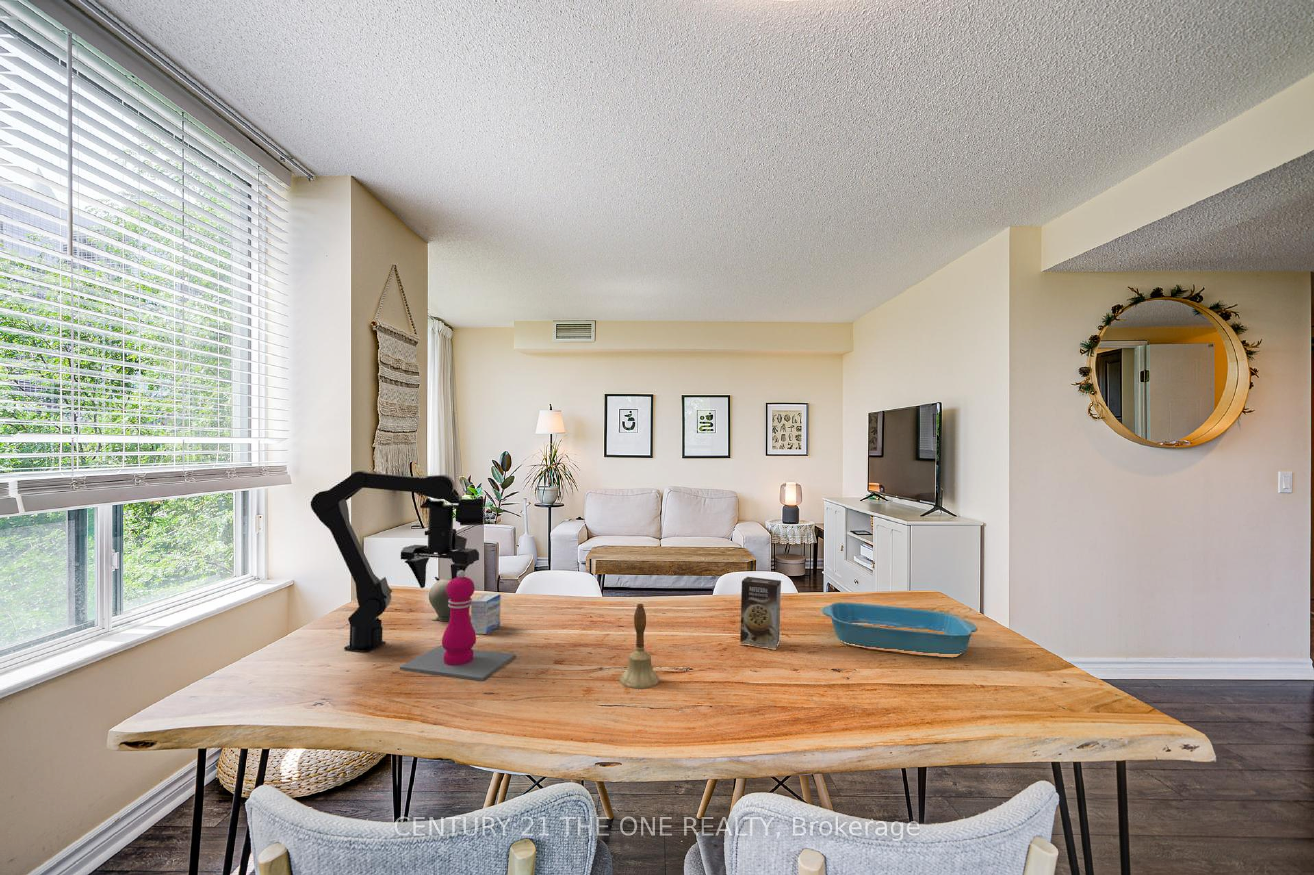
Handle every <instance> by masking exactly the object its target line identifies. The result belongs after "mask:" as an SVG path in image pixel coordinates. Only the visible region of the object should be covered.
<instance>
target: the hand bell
mask: <svg viewBox="0 0 1314 875" xmlns="http://www.w3.org/2000/svg"><path fill="white" fill-rule="evenodd" d="M633 624H634V630H635V634H636V635H635V636H636V640H635V641H636V642H635V646H636V647H635V650H634V651H632V652H630V654H629V657H628V663H627V667H626V669H625V670H624V672H623V673H622V674H621V675H620V677H619V682H620V684H621V685H622V686H625V687H628V688H631V689H648V688H652V687H654V686H656V685H658V684H659V683H660V678H659V675H658V674H657V673H656V672H655V670H654V669H653V664H652V657H651V654H650V653H649V652H647V651H646V650H645V644H644V643H645V638H644V637H645V636H644V635H645V634H644V633H645V630H646V625H647V614H646V610H645V606H644V604H643V603H637V604H636V608H635V611H634V616H633Z"/></svg>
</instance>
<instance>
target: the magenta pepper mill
mask: <svg viewBox="0 0 1314 875" xmlns="http://www.w3.org/2000/svg"><path fill="white" fill-rule="evenodd" d="M451 579H452V578H451ZM475 589H476V588H475V583H474V581H473V580H472V579H471V578H469V577H466V571H465V572H464V571H463V570H460V571H458V572H457V578H454V579H452V580H451V581H450V582H449V583H448V585H447V588H446V593H447V595H448V597H449V598H450V599H449V601H448V602H449V604H448V606H449V607H450V612H451V613H450V620H449V621H448V624H447V626H446V628H445V630H444V632H443V634H442V638H441V639H442V640H441V645H442V646H443V648H444V649H445V650H446V652H445V653H444V663H445V664H448V665H462V664H466V663H469V662H471V661H472V660H473V652H474V651H473V650H472V649H473V647H474V646H475V644H476V641H477V636H476V635H477V634H475V630H474V628H473V626H472V623H471V616H470V610H471V605H472V603H471V601H473V599H472V598H473V597H472V596H473V594H474V593H475V591H476V590H475ZM471 597H472V598H471Z"/></svg>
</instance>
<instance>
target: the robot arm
mask: <svg viewBox="0 0 1314 875" xmlns="http://www.w3.org/2000/svg"><path fill="white" fill-rule="evenodd" d="M455 486H456V485H455V481H454V479H453V478H452V477H451V476H449V475H446V474H437V475H423V476H411V475H401V474H391V473H390V474H389V473H388V474H387V473H378V472H369V471H365V470H358V471H355V472H352V473H351V474H350V475H349V476H348V477H347V478H345V479H343V480H342V481H340V482H339V483H337V484H335V485H334V486H332V487H331V488H330V489H327V490H322V491H319V492H317V493H315V495H313V497H312V498H311V501H310V509H311V510H312V512H313V513H314V514H315V516H316V517H317V519H319V521H320V522H321V523H322V524H323V525H324V526H325V527H326V528H327V529H328V530H329V531H330V533H331V535H332V537H333V539H334V541H335V543H336V546H337V548H338V550H339V552H340V554H341V556H342V558H343V561H344V562H345V564H346V567H347V569H348V571H349V572H350V575H351V577H352V580H353V582H354V585H355V594H356V595H355V596H356V601H357V604H358V607H357V608H356V609H355V610H354V612H352V613H351V614H350V616H349V617H348V623H349V644H348V645H346V646H344V648H343V649H344V650H345V651H352V652H353V651H355V652H362V653H368V652H370V651H372V650H375V649H377V648H379V647H381V646H383V645H385V644H386V643H387V642H386V640H383V629H384V628H383V626H382V624H383V623H382V619H380V618H379V617H380V616H381V615H382V614H383V613H384V612H385V611H386V609H387V608H388V607H389V605H390V603H391V601H392V595H391V594H392V592H393V589H391V587H390V586H389V583H388V580H387V578H386V576H384V577H383V578H381V579H380V578H378V576H376V574H375V573H374V571H373V568H372V567H371V565H370V562H369V561H368V558H367V557H366V554H365V553H364V550H363V548H362V546H361V544H360V541H359V539H358V537H357V535H356V532H355V530H354V528H353V526H352V524H351V522H350V513H349V512H350V511H349V510H350V509H349V506H348V502H347V501H348V500H349V499H351V498H352V497H353V496H355V495H356V494H357V493H358V492H360V491H361V490H362V489H364V488H365V489H373V490H386V491H387V490H388V491H396V492H397V491H398V492H407V493H413V494H414V493H415V494H418V495H421V496H423V497H424V496H425V497H427V498H426V499H425V501H424V502H423V503H422V504H421V505H420V506H419V507H420V508H421V509H428V524H427V525H428V526H427V530H424V536H427V544H426V545H424V544H413V545H412V544H411V545H409V546H405V547H403V548H402V549H401V551H400V560H405V561H404V563H405V564H407V565H408V566H409V568H410V570H411V571H412V573H413V575H414V578H415V579H416V581H417V584H418V585H419V587H420V588H421V589H424V588H425V587H426V580H427V564H428V562H429V559H430V558H434V559H435V558H436V559H437V558H438V559H449V560H451V562H453V563H452V564H450V574H451V579H454V578H457V572H458V571H460V570H463V571H464V572H465V573H466V570H467V569H468V567H469V566H470V565H473V564H474V563H475V562H477V561H479V560H480V552H479V551H478V549H476V548H468V547H467V548H466V546H467V541H468V538H466V537H464V536H461V535H458V534H457V532H458V531H457V529H456V528H454V509H455V522H457V523H458V524H459V525H460V526H485V524H484V523H485V509H484V498H483V497H477V498H463V497H462V496H461V494H459V492H458V491H457V490H456V489H455ZM432 499H436V500H432ZM445 501H446V502H448V503H449V504H445ZM460 526H459V527H460Z"/></svg>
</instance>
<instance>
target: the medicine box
mask: <svg viewBox="0 0 1314 875" xmlns="http://www.w3.org/2000/svg"><path fill="white" fill-rule="evenodd" d="M501 596H502V594H500V593H485V594H483V595H481V596H479V597H477V598H475V599H472V601H471V603H472V605H471V606H470V621H471V623H472V626H473V628H474V630H475V634H476V635H483V634H486V635H488V634H489V633H491V632H492V631H494V630H495V629H497V628H498V627H500V626H501ZM496 627H497V628H496ZM493 629H494V630H493ZM490 631H491V632H490ZM487 633H488V634H487Z"/></svg>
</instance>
